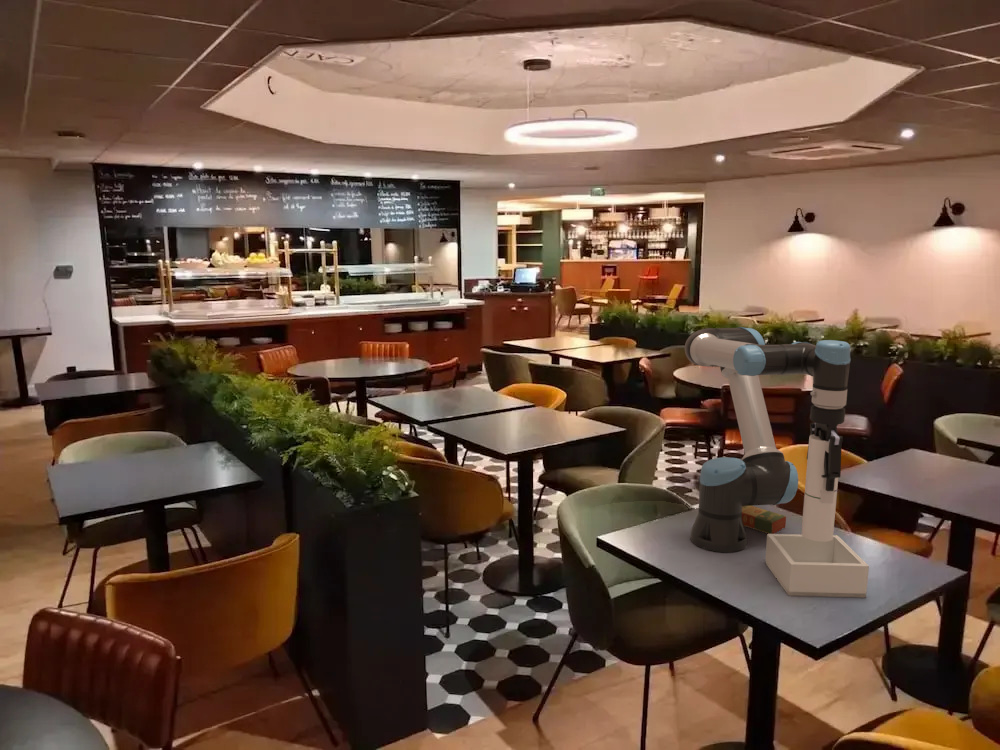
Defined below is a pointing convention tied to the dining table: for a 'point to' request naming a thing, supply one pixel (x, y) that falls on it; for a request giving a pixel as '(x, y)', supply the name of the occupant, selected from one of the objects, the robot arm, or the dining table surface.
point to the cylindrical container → (817, 495)
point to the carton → (762, 519)
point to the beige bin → (816, 566)
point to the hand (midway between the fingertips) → (820, 496)
